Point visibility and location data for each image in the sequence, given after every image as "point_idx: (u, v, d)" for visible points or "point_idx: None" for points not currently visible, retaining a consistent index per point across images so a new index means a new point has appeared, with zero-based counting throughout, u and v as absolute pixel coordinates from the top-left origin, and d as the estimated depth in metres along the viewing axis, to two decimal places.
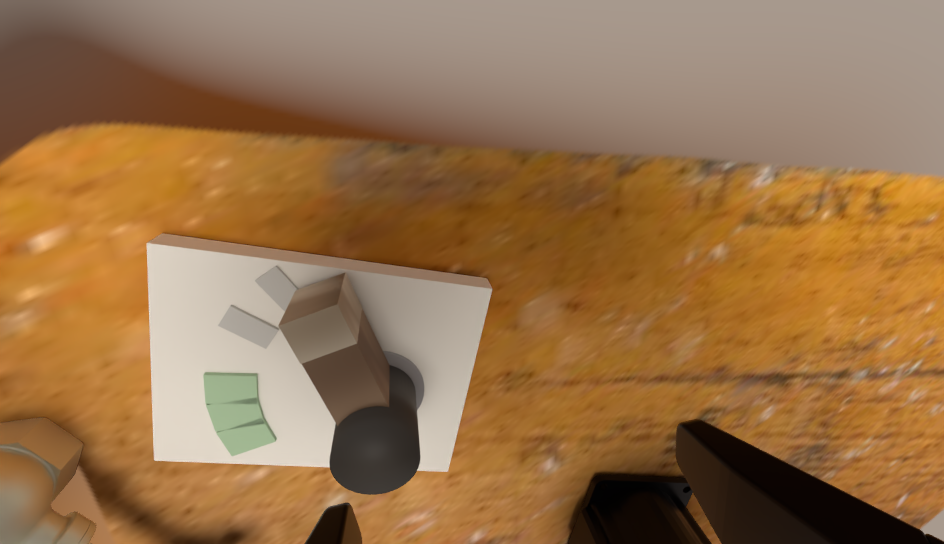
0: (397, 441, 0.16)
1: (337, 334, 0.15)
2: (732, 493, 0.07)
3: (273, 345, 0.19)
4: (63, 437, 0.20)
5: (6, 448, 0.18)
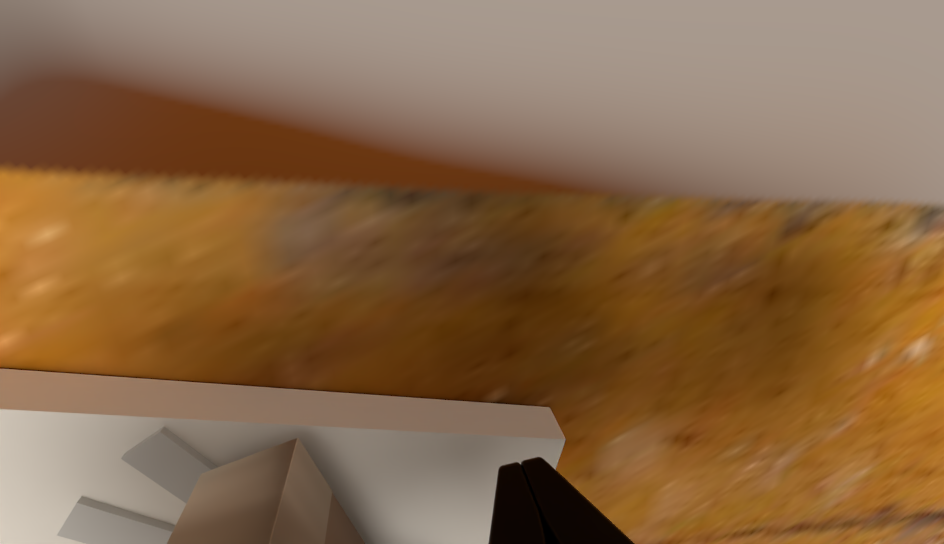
0: None
1: None
2: (547, 541, 0.07)
3: None
4: None
5: None
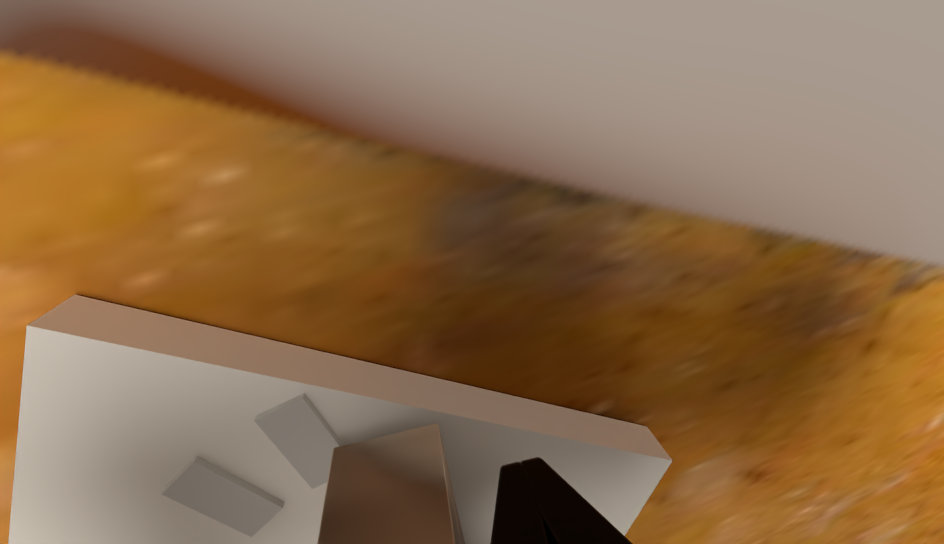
0: None
1: None
2: None
3: (266, 529, 0.10)
4: None
5: None
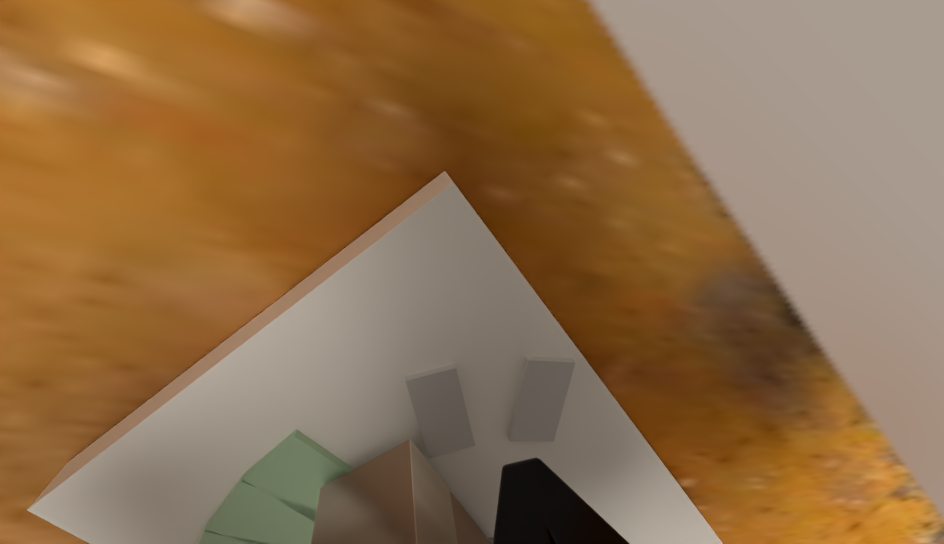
0: None
1: None
2: None
3: (439, 457, 0.10)
4: None
5: None
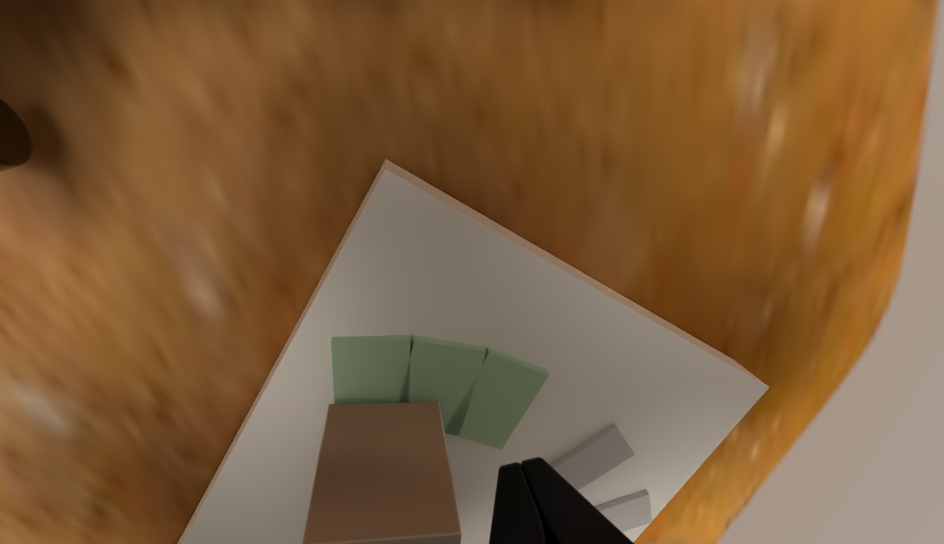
0: None
1: None
2: (547, 541, 0.07)
3: None
4: None
5: None
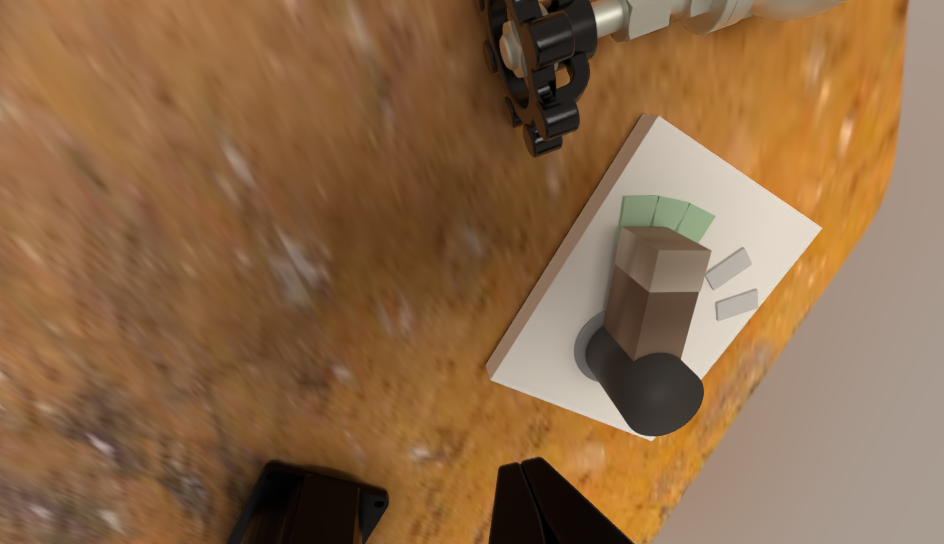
0: (691, 391, 0.17)
1: (693, 277, 0.16)
2: (547, 541, 0.07)
3: None
4: None
5: None
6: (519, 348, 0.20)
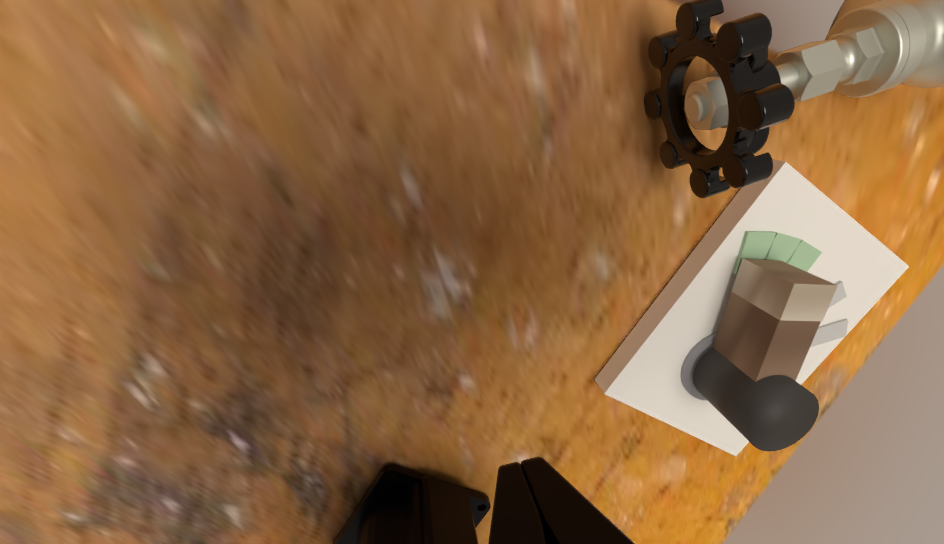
0: (808, 411, 0.19)
1: (818, 308, 0.18)
2: (547, 541, 0.07)
3: None
4: None
5: None
6: (634, 365, 0.22)
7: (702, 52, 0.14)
